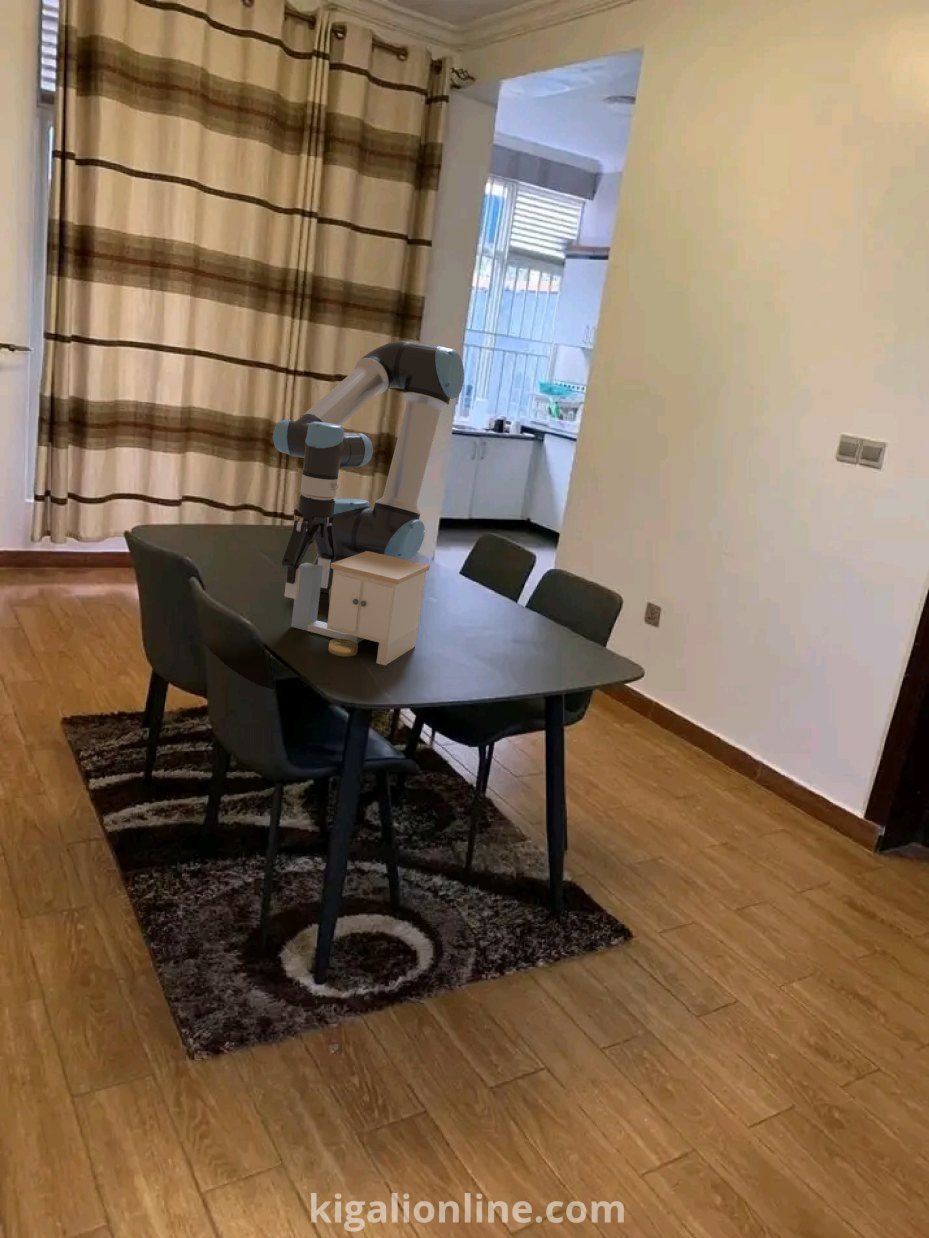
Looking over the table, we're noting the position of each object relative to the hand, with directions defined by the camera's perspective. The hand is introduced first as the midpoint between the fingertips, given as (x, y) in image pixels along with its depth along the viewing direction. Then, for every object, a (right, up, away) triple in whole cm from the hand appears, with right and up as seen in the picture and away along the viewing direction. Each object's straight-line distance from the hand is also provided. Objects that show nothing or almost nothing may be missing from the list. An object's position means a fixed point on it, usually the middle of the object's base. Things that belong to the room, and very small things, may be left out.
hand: (306, 592), depth 204 cm
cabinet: (+15, -12, -4) cm, 19 cm away
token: (+9, -13, -9) cm, 18 cm away
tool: (+5, -9, +1) cm, 10 cm away
